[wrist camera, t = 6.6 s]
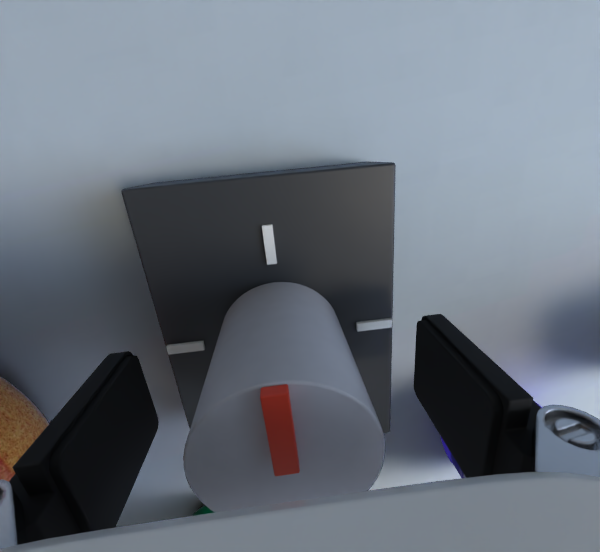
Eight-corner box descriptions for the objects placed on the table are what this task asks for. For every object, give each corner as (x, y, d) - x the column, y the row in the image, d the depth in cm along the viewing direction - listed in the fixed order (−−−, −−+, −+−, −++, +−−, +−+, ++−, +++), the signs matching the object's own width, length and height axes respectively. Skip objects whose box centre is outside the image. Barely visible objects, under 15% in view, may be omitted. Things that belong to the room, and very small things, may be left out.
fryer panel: (371, 389, 17) (391, 436, 14) (210, 410, 17) (197, 462, 14) (370, 161, 13) (398, 162, 10) (153, 182, 13) (117, 190, 10)
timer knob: (341, 375, 13) (390, 527, 8) (232, 390, 13) (204, 557, 8) (335, 274, 11) (391, 377, 6) (210, 289, 11) (152, 410, 6)
